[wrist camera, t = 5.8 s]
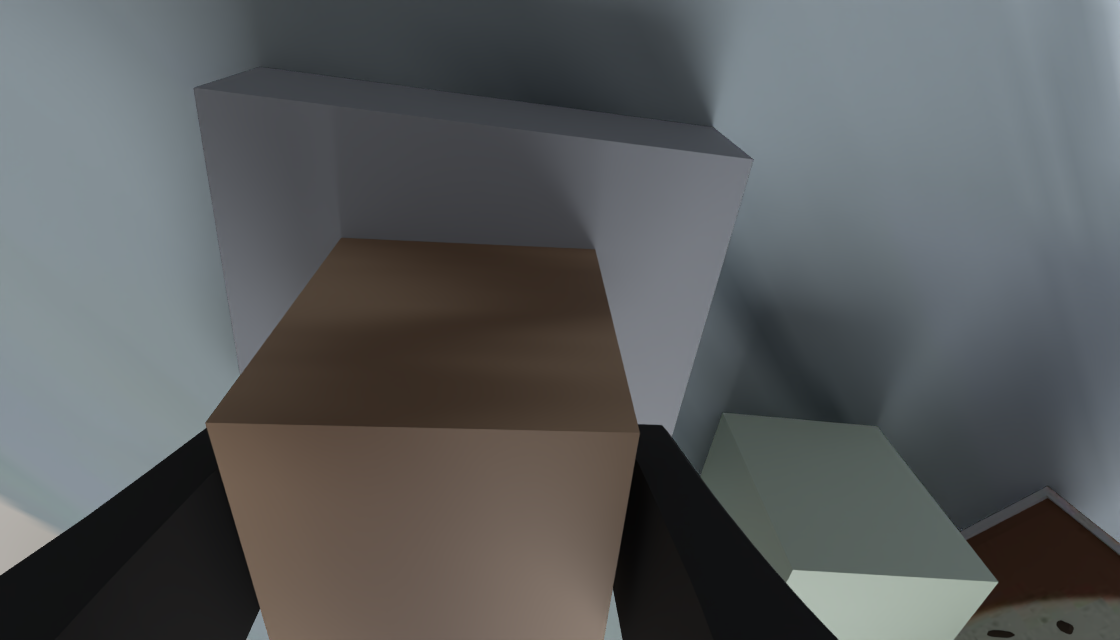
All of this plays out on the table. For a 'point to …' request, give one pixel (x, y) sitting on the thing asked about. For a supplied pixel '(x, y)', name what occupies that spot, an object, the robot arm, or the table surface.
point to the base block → (471, 200)
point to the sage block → (847, 527)
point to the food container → (1045, 574)
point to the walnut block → (434, 447)
